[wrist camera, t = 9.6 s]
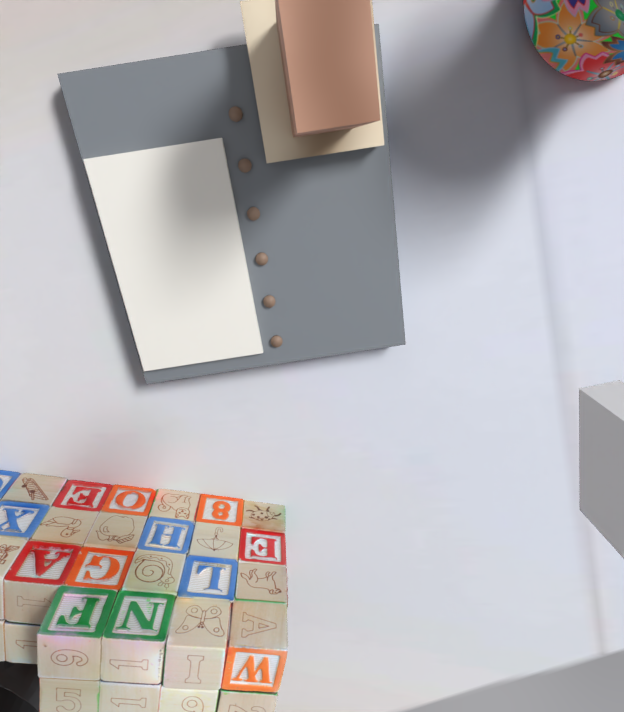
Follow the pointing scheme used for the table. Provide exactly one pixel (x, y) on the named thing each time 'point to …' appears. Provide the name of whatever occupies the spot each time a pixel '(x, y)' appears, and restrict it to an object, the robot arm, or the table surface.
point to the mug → (578, 36)
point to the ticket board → (232, 221)
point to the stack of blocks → (142, 596)
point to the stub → (314, 76)
